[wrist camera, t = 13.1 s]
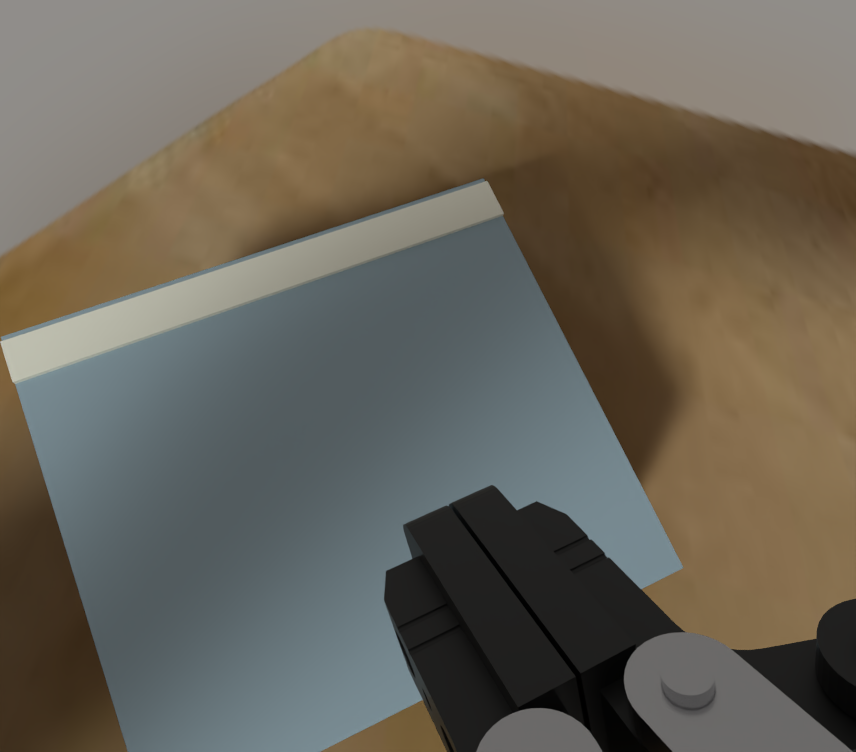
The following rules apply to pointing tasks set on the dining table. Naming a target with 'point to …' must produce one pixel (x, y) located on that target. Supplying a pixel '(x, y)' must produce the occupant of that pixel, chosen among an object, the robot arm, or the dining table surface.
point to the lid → (306, 464)
